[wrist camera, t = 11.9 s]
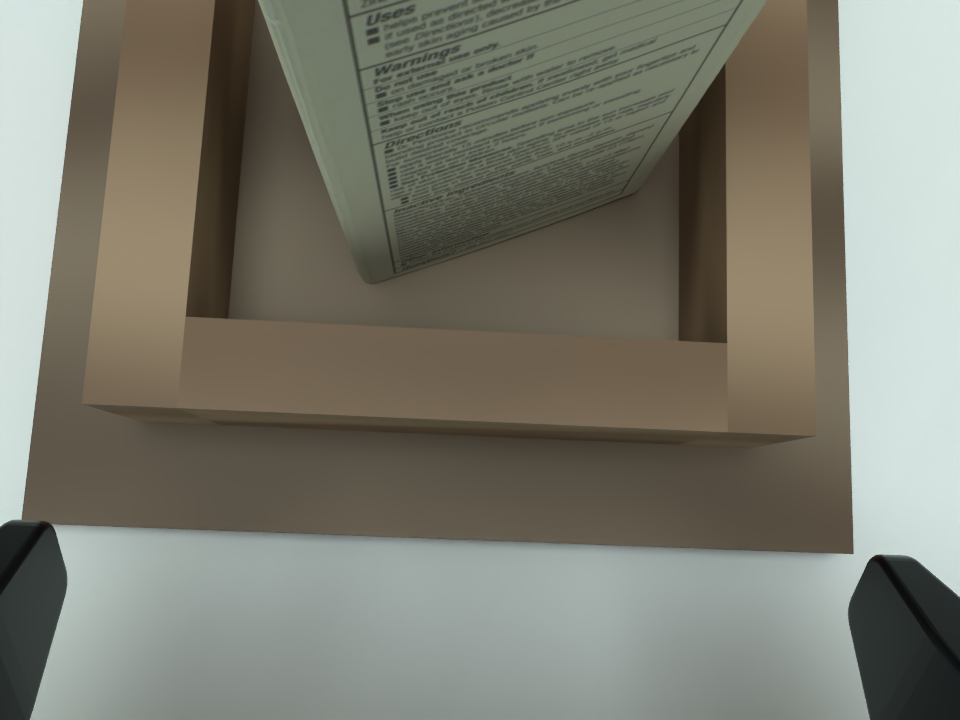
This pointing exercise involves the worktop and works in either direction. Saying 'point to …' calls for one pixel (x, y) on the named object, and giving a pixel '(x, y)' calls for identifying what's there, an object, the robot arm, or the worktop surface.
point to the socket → (441, 319)
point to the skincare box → (490, 109)
